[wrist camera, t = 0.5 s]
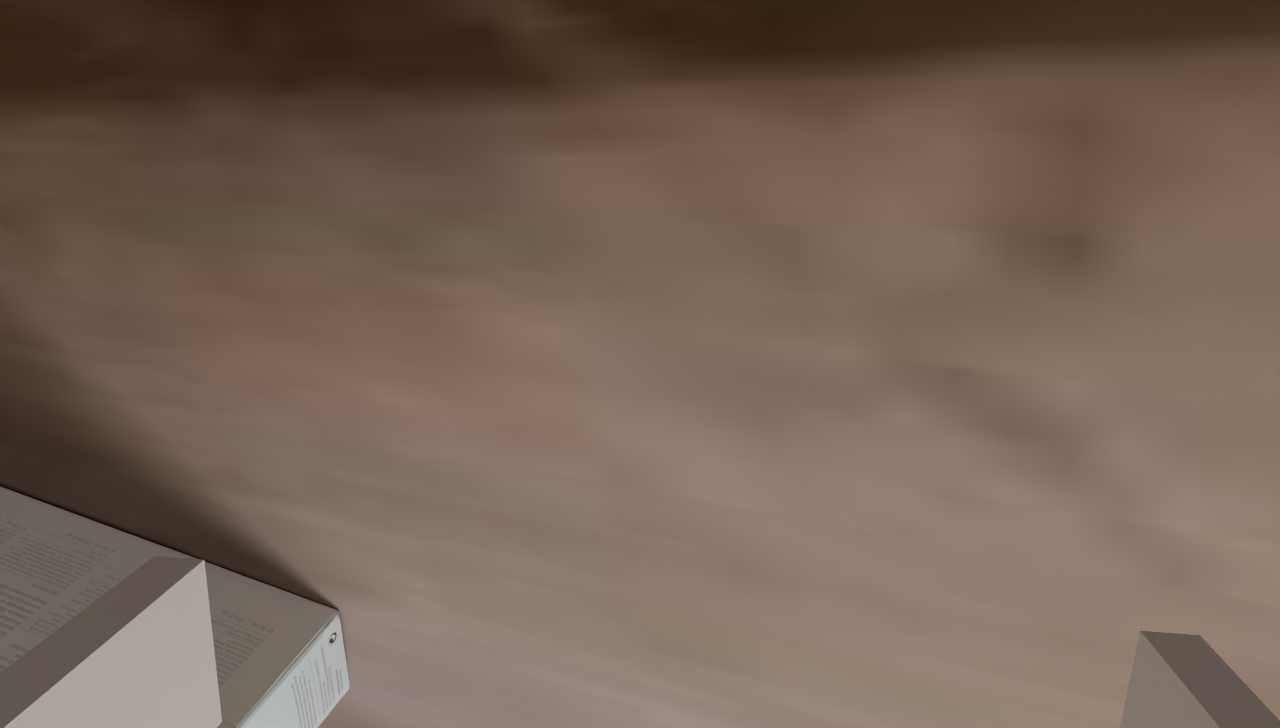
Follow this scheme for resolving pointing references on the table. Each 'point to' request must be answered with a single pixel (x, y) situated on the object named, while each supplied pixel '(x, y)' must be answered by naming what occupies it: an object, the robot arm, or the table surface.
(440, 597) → the table surface
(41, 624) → the skincare box
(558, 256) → the table surface
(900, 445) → the table surface
